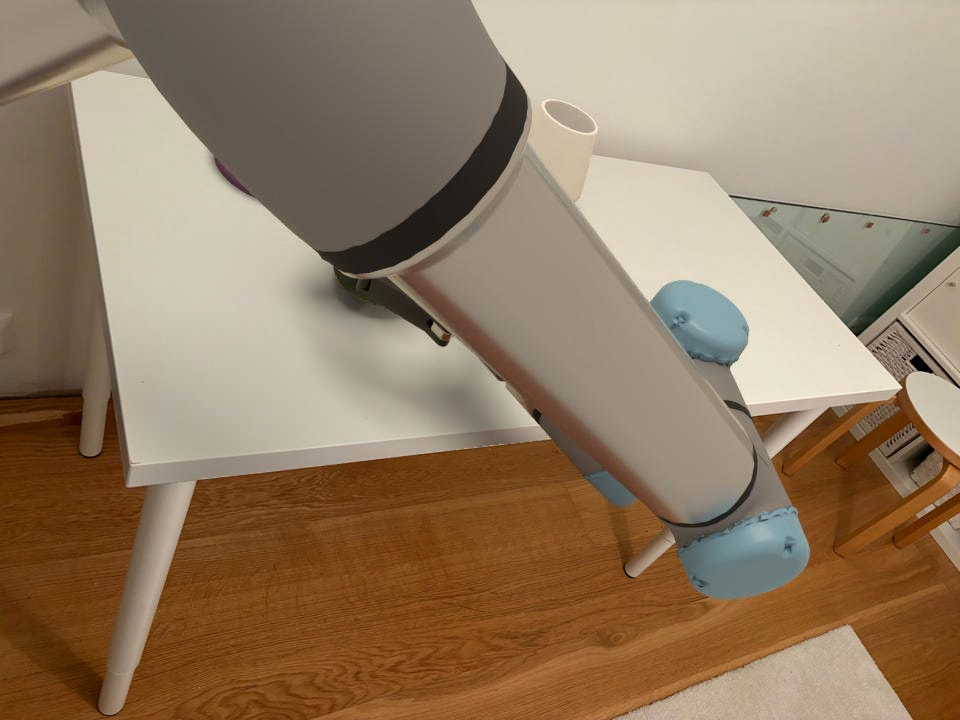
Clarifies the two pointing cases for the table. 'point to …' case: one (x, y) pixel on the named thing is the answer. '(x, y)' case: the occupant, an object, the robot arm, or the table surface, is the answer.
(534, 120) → the cup
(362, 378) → the table surface
